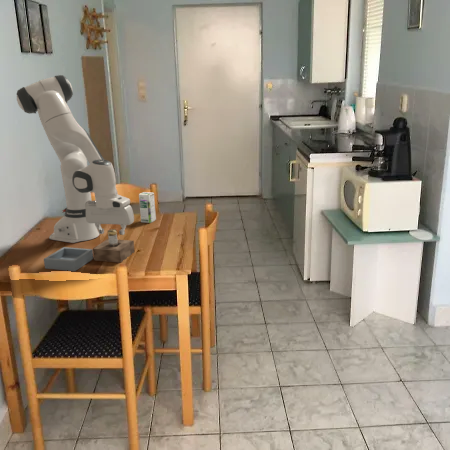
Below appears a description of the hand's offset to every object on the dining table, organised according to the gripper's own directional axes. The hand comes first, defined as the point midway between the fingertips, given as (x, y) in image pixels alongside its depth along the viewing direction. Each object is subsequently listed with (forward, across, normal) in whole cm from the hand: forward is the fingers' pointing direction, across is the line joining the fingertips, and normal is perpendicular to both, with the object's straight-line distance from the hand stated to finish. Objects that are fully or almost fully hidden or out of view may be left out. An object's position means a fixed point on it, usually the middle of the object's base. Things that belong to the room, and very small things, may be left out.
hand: (111, 233), depth 198 cm
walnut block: (+10, 0, 0) cm, 10 cm away
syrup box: (+10, -9, +48) cm, 50 cm away
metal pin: (+10, 0, 0) cm, 10 cm away
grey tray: (+9, -14, -11) cm, 20 cm away
